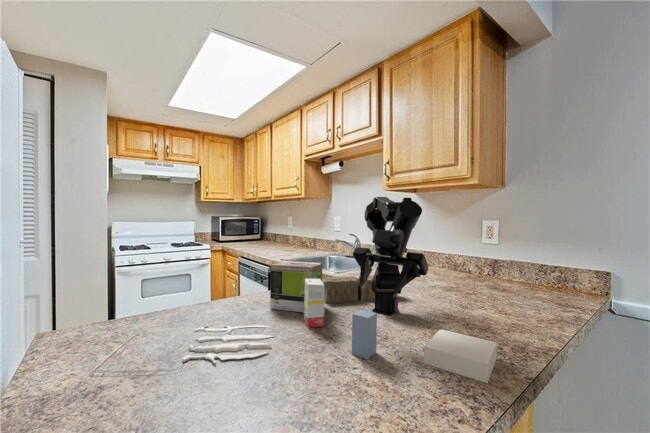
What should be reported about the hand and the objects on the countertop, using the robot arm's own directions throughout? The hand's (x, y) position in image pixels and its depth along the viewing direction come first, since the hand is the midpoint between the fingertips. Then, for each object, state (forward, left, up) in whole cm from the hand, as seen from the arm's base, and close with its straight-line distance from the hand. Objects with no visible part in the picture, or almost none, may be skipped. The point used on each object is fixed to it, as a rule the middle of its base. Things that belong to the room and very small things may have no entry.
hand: (377, 288), depth 72 cm
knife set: (-33, -26, -14) cm, 44 cm away
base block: (+18, +4, -14) cm, 23 cm away
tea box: (-34, +9, -14) cm, 38 cm away
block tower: (-24, +32, -14) cm, 42 cm away
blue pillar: (0, -6, -14) cm, 15 cm away
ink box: (-21, +2, -14) cm, 25 cm away
